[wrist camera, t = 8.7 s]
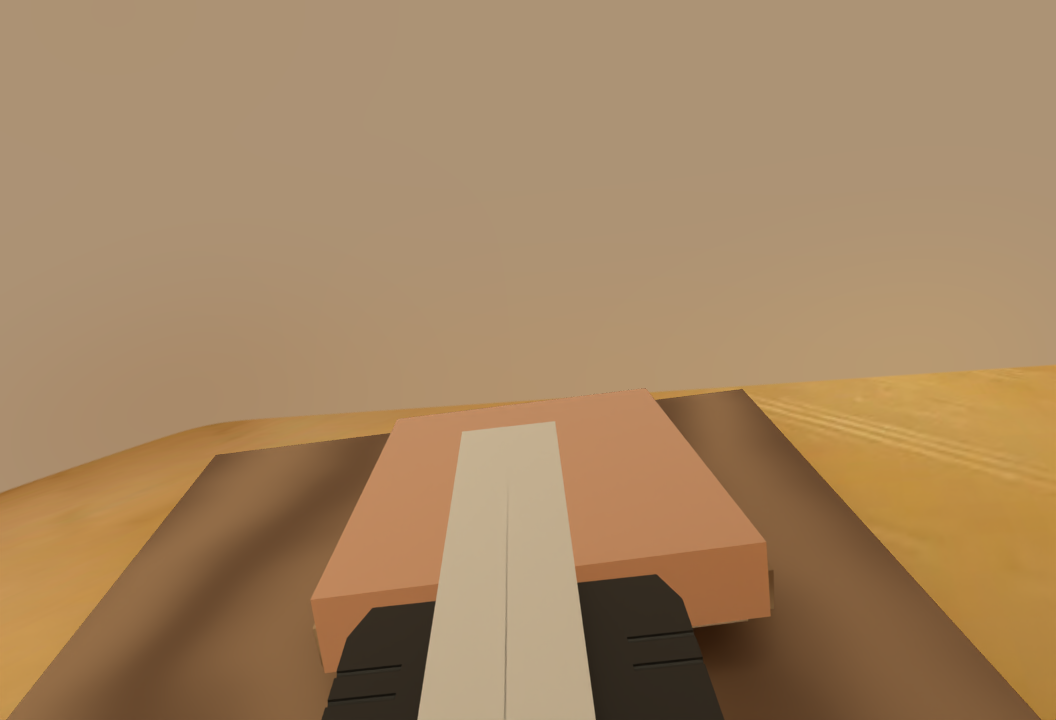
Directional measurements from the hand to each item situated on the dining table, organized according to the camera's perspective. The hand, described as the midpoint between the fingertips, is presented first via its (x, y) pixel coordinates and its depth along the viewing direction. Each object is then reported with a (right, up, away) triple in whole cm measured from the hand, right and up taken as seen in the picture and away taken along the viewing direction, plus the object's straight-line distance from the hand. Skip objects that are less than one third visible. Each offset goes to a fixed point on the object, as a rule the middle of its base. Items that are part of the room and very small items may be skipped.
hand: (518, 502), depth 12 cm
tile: (+1, -3, +4) cm, 5 cm away
